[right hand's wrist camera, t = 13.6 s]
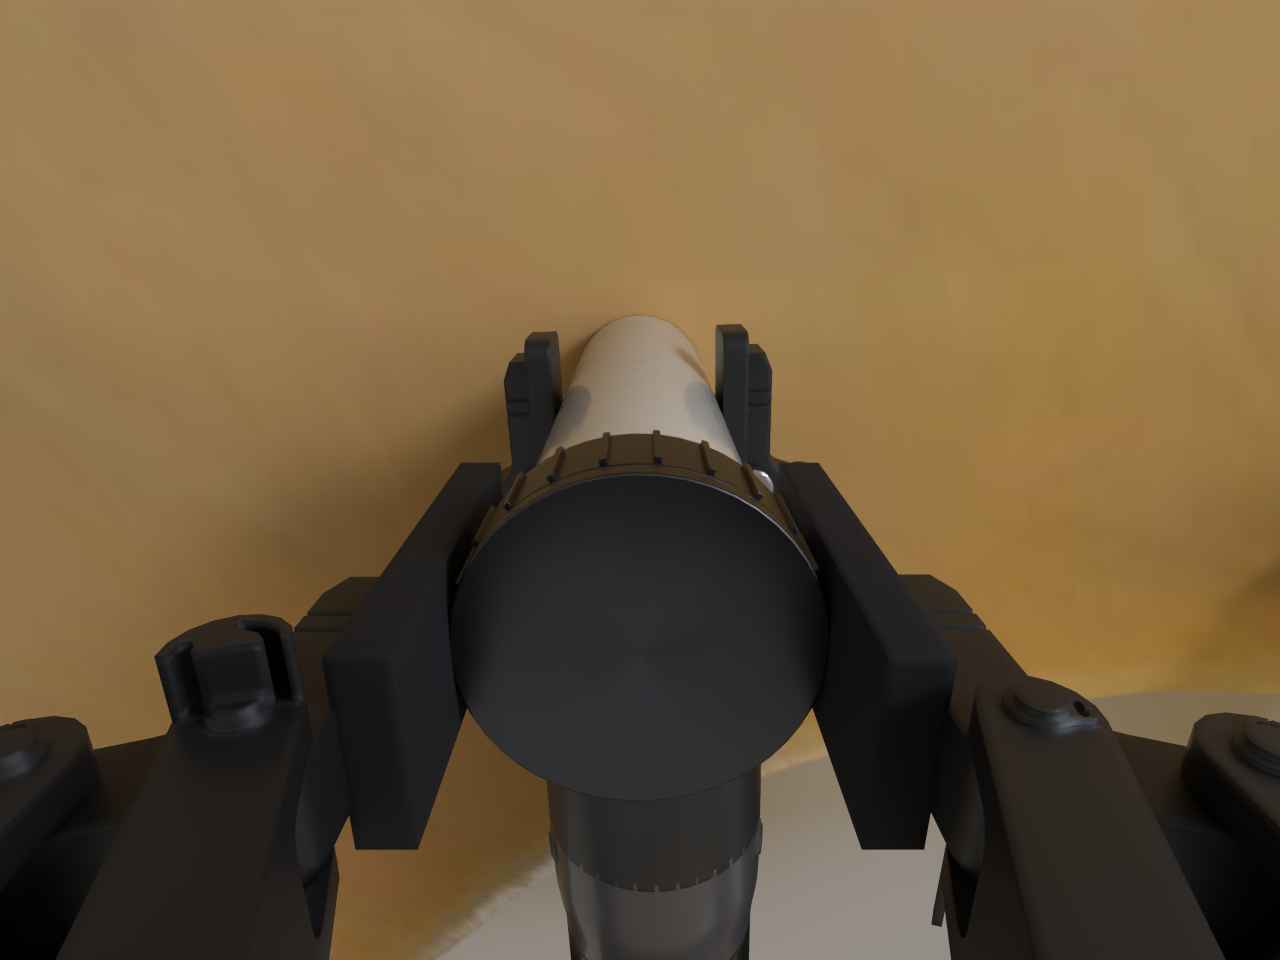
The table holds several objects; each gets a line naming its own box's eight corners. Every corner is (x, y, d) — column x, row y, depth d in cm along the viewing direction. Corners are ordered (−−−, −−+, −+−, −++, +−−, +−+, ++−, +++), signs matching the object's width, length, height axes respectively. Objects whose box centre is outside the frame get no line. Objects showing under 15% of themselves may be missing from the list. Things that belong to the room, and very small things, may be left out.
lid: (473, 411, 11) (441, 448, 9) (837, 443, 11) (873, 486, 9) (469, 713, 13) (442, 791, 11) (779, 737, 13) (800, 817, 11)
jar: (581, 309, 26) (483, 473, 10) (709, 321, 27) (824, 503, 10) (574, 432, 28) (477, 751, 11) (693, 442, 28) (771, 772, 12)
